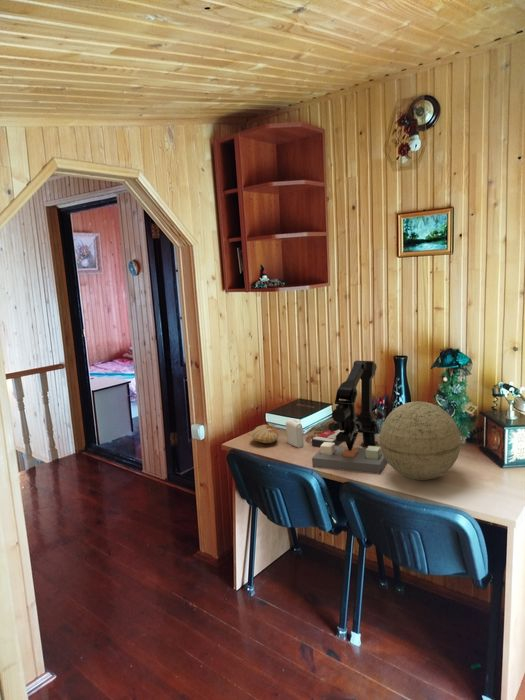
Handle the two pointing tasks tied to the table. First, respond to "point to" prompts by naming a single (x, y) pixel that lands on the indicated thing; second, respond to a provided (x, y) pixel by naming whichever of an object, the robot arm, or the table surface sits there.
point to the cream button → (327, 448)
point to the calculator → (325, 438)
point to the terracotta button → (350, 452)
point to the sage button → (373, 452)
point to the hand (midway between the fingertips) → (350, 450)
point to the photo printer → (294, 433)
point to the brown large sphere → (420, 440)
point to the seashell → (265, 434)
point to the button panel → (349, 461)
